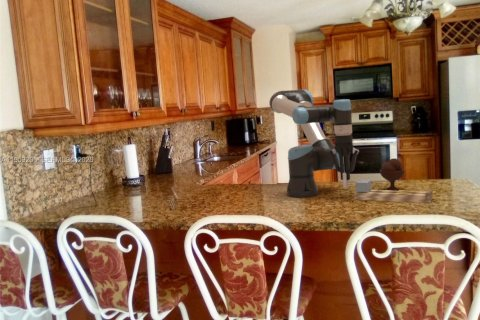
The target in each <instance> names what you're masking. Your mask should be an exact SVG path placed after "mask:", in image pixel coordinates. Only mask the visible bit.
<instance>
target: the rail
mask: <svg viewBox="0 0 480 320" xmlns="http://www.w3.org/2000/svg"><path fill="white" fill-rule="evenodd" d="M433 194H434V193H433V189H427V190H426V191H421V190H420V191H415V190H404V189H399V190H398V191H391V190H386V189H385V190H384V189H383V190H382V189H371V190H370V191H369V192H356V191H355V192H354V200H359V201H376V202H377V201H378V202H400V203H401V202H402V203H416V204H417V203H418V204H419V203H422V204H431V203H432V201H433V199H434V198H433Z"/></svg>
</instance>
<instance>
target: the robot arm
mask: <svg viewBox="0 0 480 320" xmlns="http://www.w3.org/2000/svg"><path fill="white" fill-rule="evenodd" d="M313 98H314V97H313V95H312V93H311V92H310V91H309V90H308V89H300V88H299V89H292V90H279V91H277V92H275V93H273V94H272V95H271V97H270V98H269V102H268V103H269V107H270V109H271V110H272V111H273V112H275V113H277V114H284V115H286V116H288V117H290V118H292V121H293V122H294V124H296V125H300V127H301V129H302V131H303V133H304V135H305V136H306V137H305V138H306V139H307V140H308V141H307V142H308V143H309V144H300V145H296V146H292V147H290V148H289V149H288V152H287V154H288V155H287V160H288V177H289V180H288V184H287V187H286V196H288V197H291V198H309V197H314V196H316V195H317V196H318V195H319V188H318V186H317V182H316V179H315V176H314V174H315V173H314V172H319V171H327V170H328V171H329V170H333V169H334V170H335V171H336V172H338V173H340V180H341V181H342V187H343V188H345V189H346V188H349V181H350V180H351V173H352V172H353V171H354V170H355V168H356V167H355V166H356V161H357V157H358V155H359V152H360V150H359V149H357V148H355V147H354V145H353V144H354V143H353V142H354V141H353V135H352V134H353V124H352V123H353V122H352V116H353V115H352V105H351V104H352V103H351V99H349V98H348V99H347V98H346V99H345V98H343V99H335V100H334V101H333V103H332V104H328V105H317V106H316V105H314V99H313ZM329 122H333V123H334V126H333V127H334V128H333V129H334V135H335V136H334V143H335V144H334V143H333V141H332V140H331V139H330V138H328V137H326V135H325V133H324V131H323V129H322V127H321V126H320V124H319V123H329ZM351 153H352V159H351V157H350V156H351ZM350 159H351V160H350Z"/></svg>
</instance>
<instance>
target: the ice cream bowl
mask: <svg viewBox="0 0 480 320" xmlns="http://www.w3.org/2000/svg"><path fill="white" fill-rule="evenodd" d="M381 165H382V166H381V169H379V174H380V175H381V177H382V178H383V179H384V180H386V181H388V182H389V184H390V186H388V187H387V188H386V189H385V190H391V191H397V190H398V191H399V190H400V189H399V188H398V187H396V186H395V182H396V181H398V180H400V179H402V178H403V176H404V174H405V172H406V170H405V169H403V166H402V162H401V161H400V159H398V158H391V159H389V160H388V161H386V162H384V163H383V164H381Z"/></svg>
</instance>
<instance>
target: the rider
mask: <svg viewBox="0 0 480 320" xmlns="http://www.w3.org/2000/svg"><path fill="white" fill-rule="evenodd" d="M372 188H373V187H372V179H358V180H357V181H356V182H355V192H369V191H370V190H373V189H372Z"/></svg>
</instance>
